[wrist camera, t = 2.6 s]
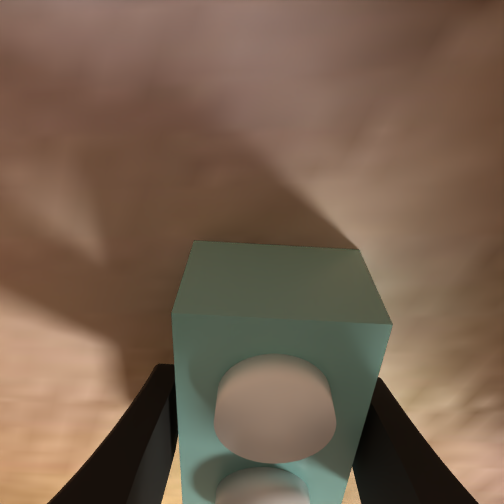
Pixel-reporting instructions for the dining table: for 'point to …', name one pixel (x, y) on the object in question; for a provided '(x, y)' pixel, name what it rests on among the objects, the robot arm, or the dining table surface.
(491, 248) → the dining table surface
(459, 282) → the dining table surface
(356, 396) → the teal block
